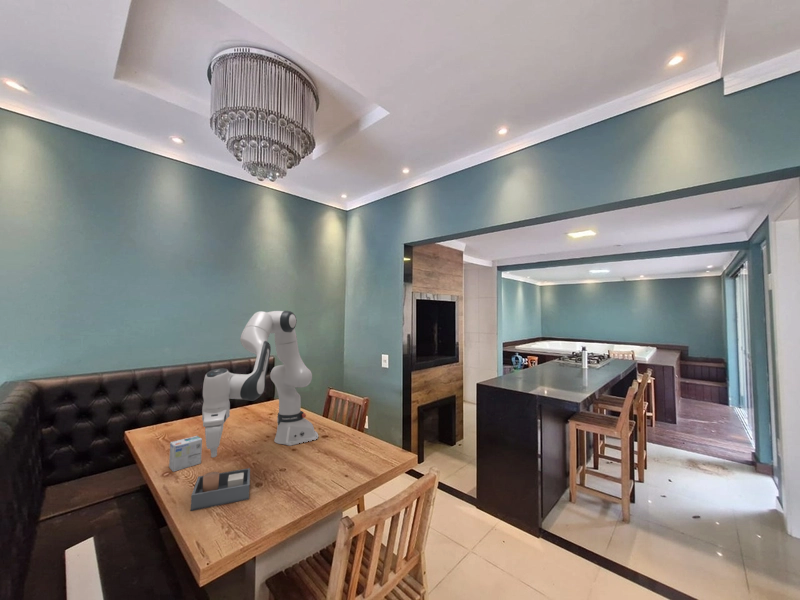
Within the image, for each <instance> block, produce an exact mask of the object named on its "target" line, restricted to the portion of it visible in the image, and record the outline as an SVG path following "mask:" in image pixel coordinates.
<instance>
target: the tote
mask: <svg viewBox="0 0 800 600" xmlns="http://www.w3.org/2000/svg"><path fill="white" fill-rule="evenodd" d="M243 472H244V478H243V485H240V486H234V487H229V488H228V478H229V475H231V474H237V473H243ZM203 476H204V475H200V476H197V478H196V479H197V480H196V481H195V484H194V487H193V490H192V493H191V496H190V512H193V511H197V510H203V509H206V508H213V507H218V506H222V505H227V504H233V503H237V502H242V501H247V500H249V499H250V481H251V468H250V467H248V468H244V469H243V468H242V469H237V470H231V471H224V472H219V488H218V490H213V491H207V492H202V490H203Z"/></svg>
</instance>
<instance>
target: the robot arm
mask: <svg viewBox="0 0 800 600" xmlns="http://www.w3.org/2000/svg"><path fill="white" fill-rule="evenodd" d="M295 327H297V317H296V315H295V314H294V312H293V311H290V310H272V311H264V310H263V311H262V310H261V311H256V312H254V314H252V316H251V317H250V318H249V320H248V321H247V323H246V324H245V326H244V328H243V330H242V332H241V335H240V340H239V341H240V344H241V346H242V347H243V348H244V349H245V350H246V351H247V352H249V353H251V354H254V355H256V359H255V363H254V366H253V370H252V372H251V373H248V374H246V373H245V374H244V373H243V374H241V373H233V372H230V371H229V370H228V369H227V368H222V367H221V368H215V369H212V370H209V371H207V372H206V374H205V375H204V378H203V379H204V380H203V385H202V398H203V404H202V408H201V409H202V410H201V412H202V416H201V417H202V418H201V419H202V420H201V421H202V426H203V427H204V434H205V443H206V444H205V445H206V448H207V450H210V457H211V458H216V457H217V456H218V448H219V446H220V442H221V439H222V434H223V431H224V425H225V422H226V421H227V420H228V418H230V413H231V412H230V411H231V410H230V409H231V403H230V399H232V400H243V401H251V402H252V401H256V400H257V399H258V398H260V397H261V396H262V395H263V394H264V391H265V388H266V378H267V372H268V367H269V362H270V357H271V349H272V348H271V344H270V343H269V341H268V340H269V337H270V335H271V334H274V343H275V351H276V357H277V359H278V360H279V361H280V362H281V363H282V364H279V365H275V366H274V367H273V368H272V369H271V370H270V371H271V372H270V374H269V376H270V380H271V381H272V382H273V384H274V386H275V389H276V391H277V395H278V396H277V397H278V412H277V420H276V423H277V427H276V433H275V437H274V440H273V441H274V443H276V444H279V445H285V446H290V447H291V446H295V445H300V444H304V443H307V442H308V441H309V442H313V441H312V440H314V441H317V440H318V439H319V434H318V432H317V431H316V430H315V428H314V424H313V423H312V422H311V421H310V420H308V419H306V417H307V414H306V413H305V412H304V411H303V410H301V405H302V402H301V401H302V400H301V399H302V397H301V395H300V393H298V391H297V389H298V388H306V387H308V386H310V384H311V382H312V380H313V373H312V371H311V369H309V368H308V367H307V366H306V364H305V363H304V361H303V359H302V356H301V354H300V349H299V345H298V343H299V342H298V337H297V333H296V329H295ZM296 388H297V389H296ZM316 439H317V440H316ZM303 442H304V443H303ZM309 442H308V443H309ZM299 443H300V444H299Z"/></svg>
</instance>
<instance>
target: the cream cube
mask: <svg viewBox="0 0 800 600" xmlns="http://www.w3.org/2000/svg"><path fill="white" fill-rule="evenodd" d="M243 478H244V472H243V473H237V474H231V475H229V478H228V488H229V487H234V486H240V485H243Z"/></svg>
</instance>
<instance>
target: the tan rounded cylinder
mask: <svg viewBox="0 0 800 600" xmlns="http://www.w3.org/2000/svg"><path fill="white" fill-rule="evenodd" d="M219 473H220V472H218V471H211V472H207V473H205V474H203V475H202V476H203V490H202V492H207V491H213V490H218V488H219Z"/></svg>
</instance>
